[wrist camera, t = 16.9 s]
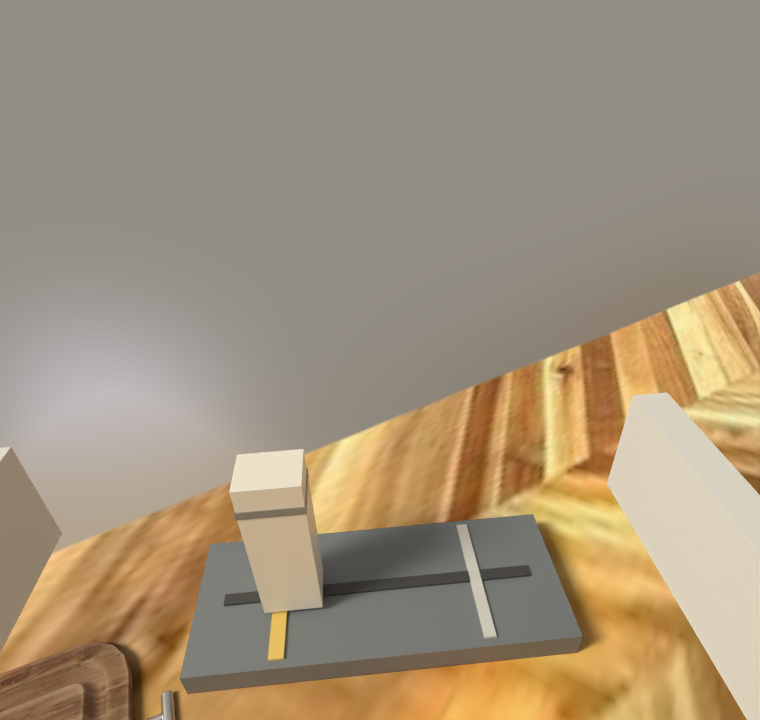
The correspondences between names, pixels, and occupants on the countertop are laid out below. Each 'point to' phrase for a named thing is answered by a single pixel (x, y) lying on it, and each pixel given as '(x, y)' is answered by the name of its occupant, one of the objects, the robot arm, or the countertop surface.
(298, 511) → the fader knob
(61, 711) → the chopping board
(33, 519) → the robot arm
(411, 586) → the fader console
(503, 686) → the countertop surface
